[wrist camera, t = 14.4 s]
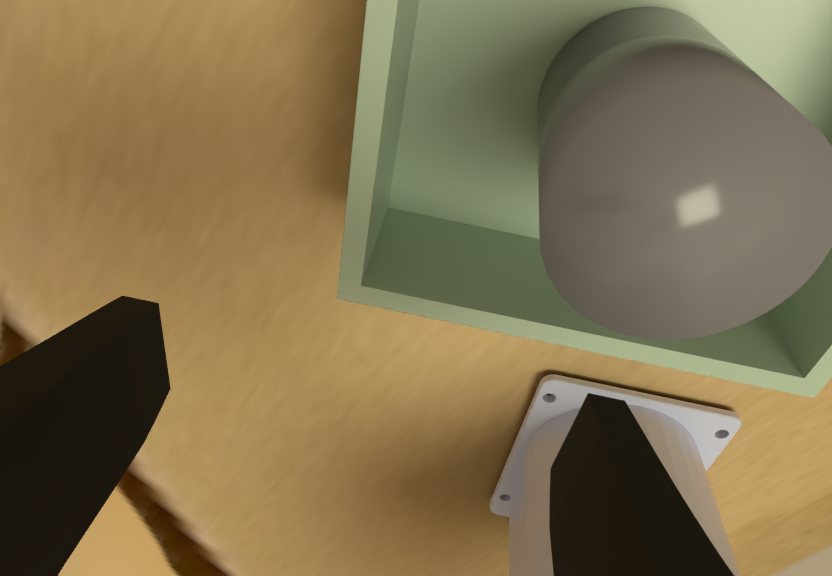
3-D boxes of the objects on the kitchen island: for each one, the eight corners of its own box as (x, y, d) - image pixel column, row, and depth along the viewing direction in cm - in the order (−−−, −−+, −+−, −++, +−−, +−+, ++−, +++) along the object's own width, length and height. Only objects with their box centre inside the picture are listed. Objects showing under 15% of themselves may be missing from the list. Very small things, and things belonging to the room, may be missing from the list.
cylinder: (678, 205, 17) (748, 364, 12) (516, 168, 18) (508, 306, 12) (767, 30, 14) (917, 131, 9) (570, -13, 15) (594, 59, 9)
